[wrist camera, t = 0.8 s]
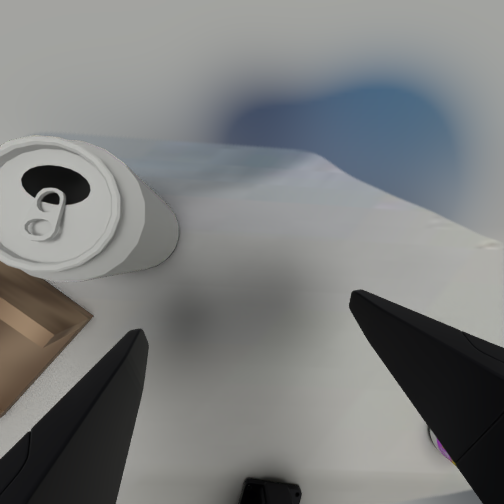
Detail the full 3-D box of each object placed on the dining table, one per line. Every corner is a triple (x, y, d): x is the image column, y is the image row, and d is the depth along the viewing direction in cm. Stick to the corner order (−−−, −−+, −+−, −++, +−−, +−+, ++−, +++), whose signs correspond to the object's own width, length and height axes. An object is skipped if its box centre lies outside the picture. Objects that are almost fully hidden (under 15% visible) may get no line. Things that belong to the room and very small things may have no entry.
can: (186, 203, 22) (145, 139, 10) (174, 274, 21) (117, 297, 9) (108, 188, 20) (-44, 97, 9) (95, 263, 20) (-83, 275, 8)
